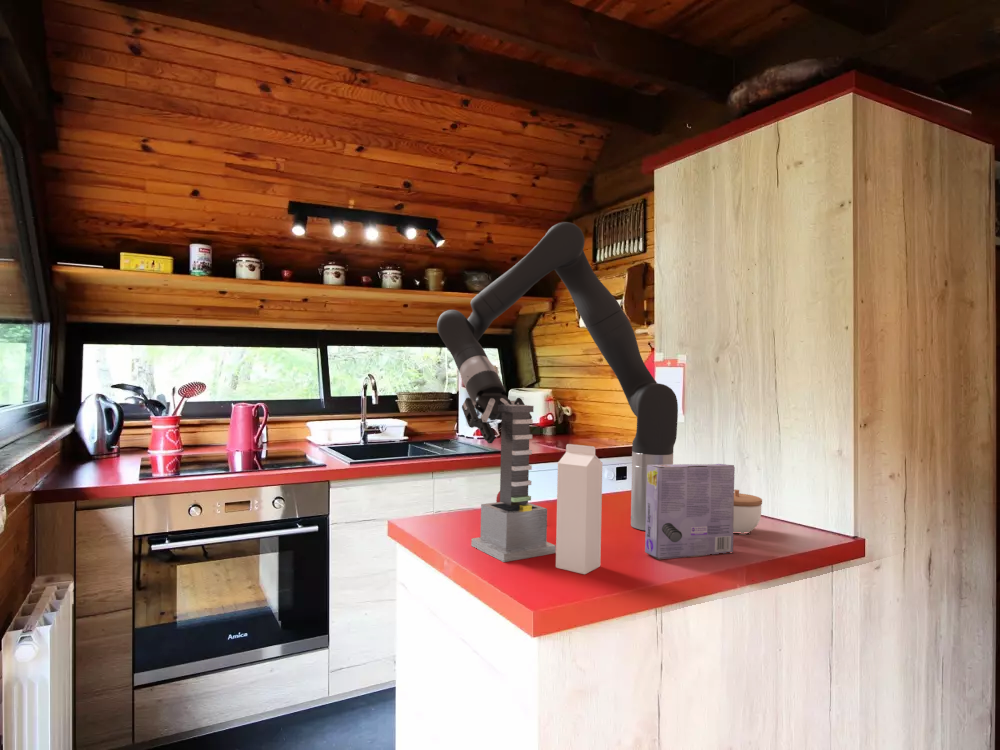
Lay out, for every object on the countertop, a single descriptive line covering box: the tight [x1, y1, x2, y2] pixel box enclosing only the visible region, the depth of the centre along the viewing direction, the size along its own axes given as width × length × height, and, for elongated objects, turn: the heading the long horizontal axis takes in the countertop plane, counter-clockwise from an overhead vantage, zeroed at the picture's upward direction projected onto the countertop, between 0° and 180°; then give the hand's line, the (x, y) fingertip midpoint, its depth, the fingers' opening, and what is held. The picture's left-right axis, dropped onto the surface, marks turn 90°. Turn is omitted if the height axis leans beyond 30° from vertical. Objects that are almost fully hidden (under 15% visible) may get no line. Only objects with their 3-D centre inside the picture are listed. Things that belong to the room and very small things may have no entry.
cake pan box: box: [644, 463, 736, 560], centre depth 119 cm, size 19×5×18 cm, turn 110°
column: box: [498, 404, 535, 505], centre depth 119 cm, size 5×6×19 cm
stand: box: [470, 502, 556, 563], centre depth 119 cm, size 12×12×10 cm
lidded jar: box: [733, 489, 763, 533], centre depth 138 cm, size 11×11×9 cm
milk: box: [555, 443, 603, 575], centre depth 109 cm, size 6×6×22 cm
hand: (510, 440), depth 121 cm, fingers open, 8 cm apart
